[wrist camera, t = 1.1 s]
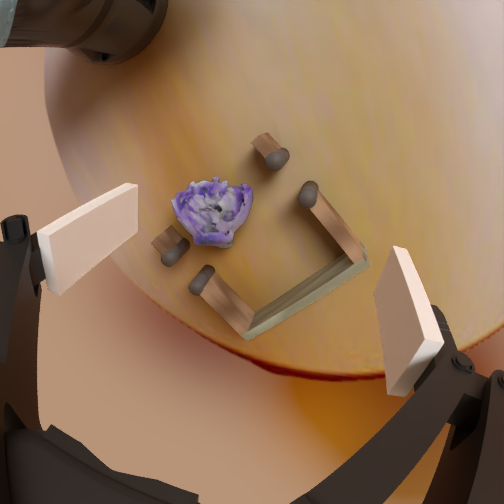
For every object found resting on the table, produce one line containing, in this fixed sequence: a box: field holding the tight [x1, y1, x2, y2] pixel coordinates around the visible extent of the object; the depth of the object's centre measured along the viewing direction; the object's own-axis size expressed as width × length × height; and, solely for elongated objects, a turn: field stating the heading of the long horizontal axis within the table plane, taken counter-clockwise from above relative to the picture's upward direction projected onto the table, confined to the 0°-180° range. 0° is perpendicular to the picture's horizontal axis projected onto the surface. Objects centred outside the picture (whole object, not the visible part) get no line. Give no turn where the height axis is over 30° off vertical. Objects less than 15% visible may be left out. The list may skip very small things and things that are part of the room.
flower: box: [171, 177, 253, 248], centre depth 36 cm, size 9×9×10 cm
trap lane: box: [151, 133, 369, 341], centre depth 37 cm, size 18×20×5 cm
